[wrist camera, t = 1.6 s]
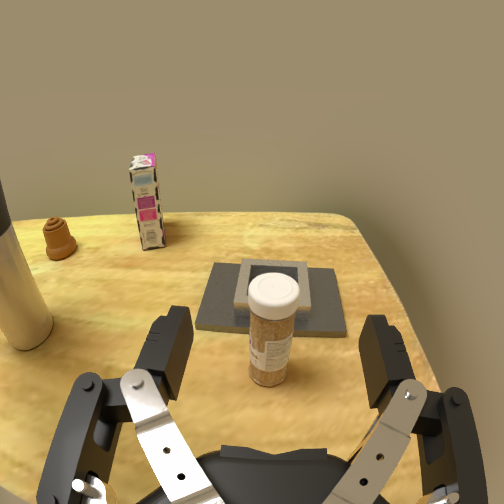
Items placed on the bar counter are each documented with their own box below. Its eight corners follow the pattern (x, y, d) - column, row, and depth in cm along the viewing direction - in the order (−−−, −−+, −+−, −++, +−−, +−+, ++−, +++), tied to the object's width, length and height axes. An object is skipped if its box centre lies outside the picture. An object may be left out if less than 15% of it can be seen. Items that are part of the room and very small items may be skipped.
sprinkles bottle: (244, 361, 34) (242, 274, 27) (280, 354, 35) (290, 267, 28) (254, 392, 31) (255, 308, 23) (292, 383, 32) (308, 298, 24)
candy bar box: (167, 247, 56) (155, 165, 47) (142, 251, 55) (127, 170, 46) (164, 222, 65) (155, 151, 56) (143, 225, 64) (132, 155, 55)
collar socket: (195, 329, 39) (192, 309, 37) (214, 268, 50) (213, 250, 48) (344, 337, 37) (350, 318, 35) (332, 274, 49) (336, 256, 47)
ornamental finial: (43, 255, 53) (67, 239, 59) (57, 265, 50) (83, 247, 56) (32, 223, 49) (58, 208, 54) (45, 231, 46) (73, 214, 51)
